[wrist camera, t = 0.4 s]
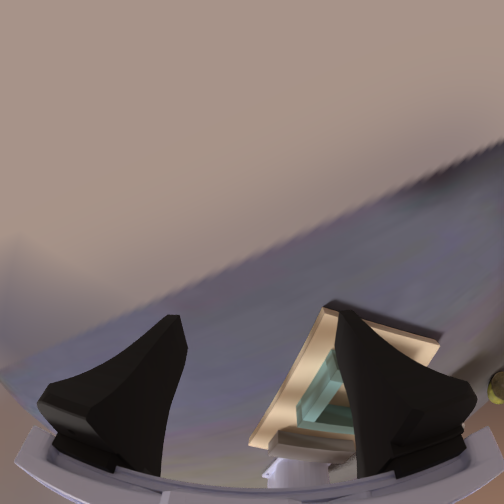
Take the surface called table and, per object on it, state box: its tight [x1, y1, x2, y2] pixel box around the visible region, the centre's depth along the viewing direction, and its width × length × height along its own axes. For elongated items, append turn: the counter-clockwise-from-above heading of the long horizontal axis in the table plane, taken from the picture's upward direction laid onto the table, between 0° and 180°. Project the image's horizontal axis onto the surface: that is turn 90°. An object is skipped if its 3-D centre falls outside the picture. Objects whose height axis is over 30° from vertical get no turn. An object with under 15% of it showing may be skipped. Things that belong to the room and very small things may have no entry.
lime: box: [487, 372, 504, 404], centre depth 22 cm, size 4×5×5 cm
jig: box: [249, 307, 440, 464], centre depth 23 cm, size 20×14×4 cm
